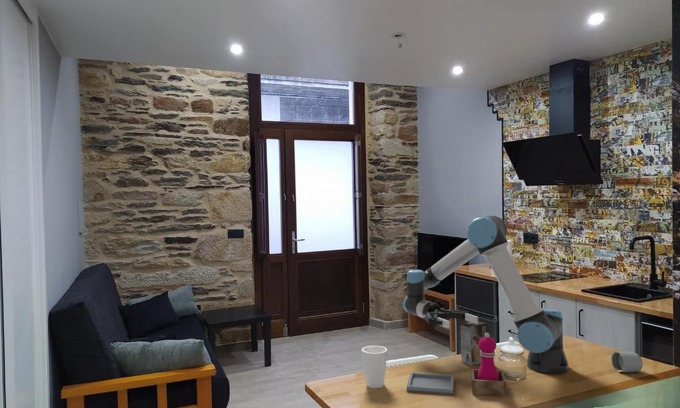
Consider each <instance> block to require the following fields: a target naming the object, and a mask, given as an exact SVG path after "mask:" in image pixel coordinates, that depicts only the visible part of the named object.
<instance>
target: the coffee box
mask: <svg viewBox="0 0 680 408" xmlns="http://www.w3.org/2000/svg"><path fill="white" fill-rule="evenodd" d="M459 326H460V327H459V328H460V354H461V356H460V357H461V358H460V359H461V362H462V363H464V364H467V365H469V366H475V365H479V364H480V365H481V362H482V356H481V355H480V353H481V352H480V351H481V349H480V348H479V340H480V339H481V338H483V337H485V333H488V331H487V330H488V329H487V326H488V325H487V323H486V322H482V321H480V320H478V324H475V323H472V322H469V321H466V322H461V323H459Z"/></svg>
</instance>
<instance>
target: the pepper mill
mask: <svg viewBox="0 0 680 408" xmlns="http://www.w3.org/2000/svg"><path fill="white" fill-rule="evenodd" d="M490 336H491V335H490V333H489V332H487V333H485V337H483V338H481V339H480V340H479V348H480V349H481V351H480V352H481V353H480V355H481V356H482V362H481V363H480V366H479V371H478V380H492V381H499V375H498V372H497V368H496V365H495V360H494V359H495V356H496V352H495V350H496V349H497V342H496V340H495V339H494V338H492V337H490Z"/></svg>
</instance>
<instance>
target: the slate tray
mask: <svg viewBox="0 0 680 408" xmlns="http://www.w3.org/2000/svg"><path fill="white" fill-rule="evenodd" d="M454 379H455V377H454V374H445V373H444V374H442V373H430V372H429V373H427V372H410V373H409V377H408V381H407V384H406V392H409V393H410V392H411V393H412V392H413V393H425V394H437V395H449V396H450V395H451V396H452V395H453V396H454V388H455V387H454V382H455V380H454Z"/></svg>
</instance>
